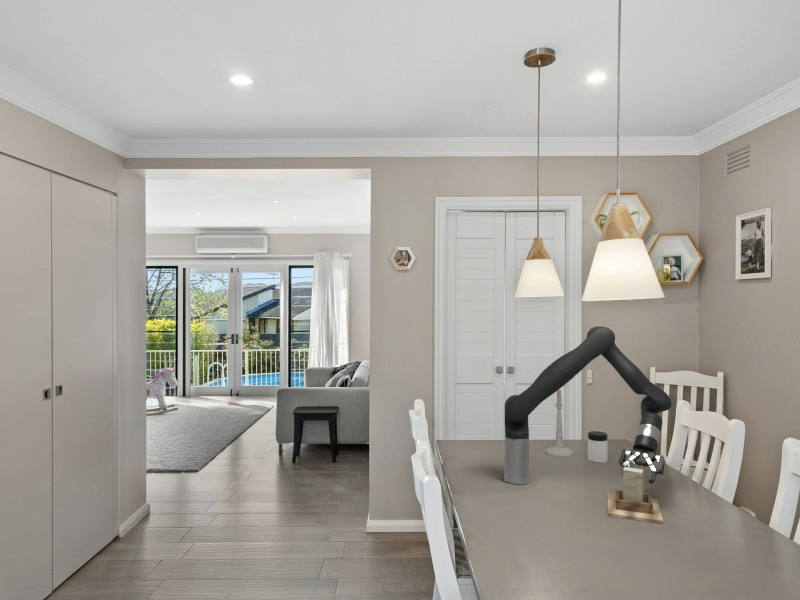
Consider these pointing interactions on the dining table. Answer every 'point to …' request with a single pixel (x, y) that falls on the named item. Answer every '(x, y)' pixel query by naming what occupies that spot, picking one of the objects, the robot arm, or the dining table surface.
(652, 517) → the carrier plate
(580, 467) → the dining table surface
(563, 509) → the dining table surface
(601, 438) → the jar
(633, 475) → the skincare box
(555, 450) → the candlestick
